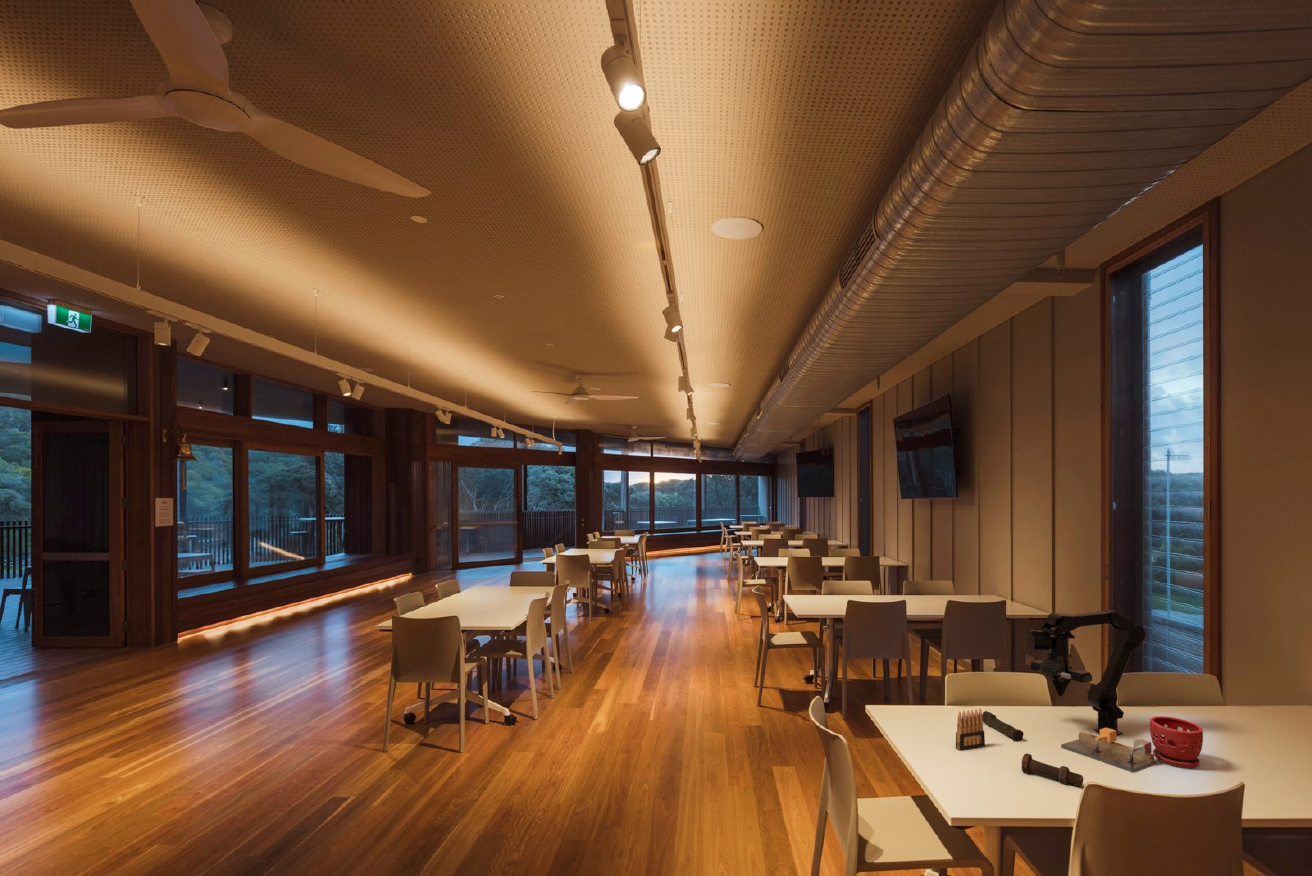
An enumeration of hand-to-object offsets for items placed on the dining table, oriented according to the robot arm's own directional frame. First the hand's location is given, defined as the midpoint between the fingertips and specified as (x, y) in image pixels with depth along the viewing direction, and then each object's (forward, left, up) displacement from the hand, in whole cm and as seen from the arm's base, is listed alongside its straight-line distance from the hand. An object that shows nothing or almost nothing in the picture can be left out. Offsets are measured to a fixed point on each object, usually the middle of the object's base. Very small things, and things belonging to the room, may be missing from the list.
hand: (1060, 696), depth 234 cm
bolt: (+42, +21, -12) cm, 48 cm away
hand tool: (+20, -10, -12) cm, 25 cm away
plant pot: (-6, +32, -12) cm, 35 cm away
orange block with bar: (+6, +17, -11) cm, 21 cm away
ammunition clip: (+42, -5, -12) cm, 44 cm away
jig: (+8, +19, -12) cm, 24 cm away
